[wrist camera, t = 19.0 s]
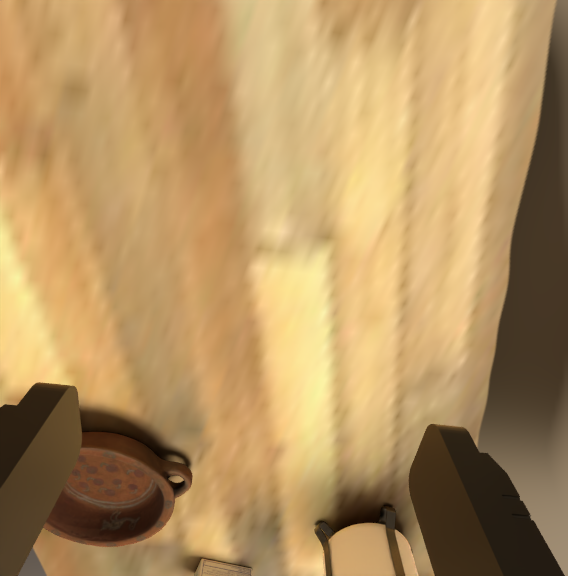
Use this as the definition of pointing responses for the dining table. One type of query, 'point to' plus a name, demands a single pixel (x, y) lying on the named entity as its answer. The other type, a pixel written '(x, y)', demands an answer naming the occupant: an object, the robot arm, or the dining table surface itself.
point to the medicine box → (221, 569)
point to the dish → (116, 493)
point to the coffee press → (367, 549)
